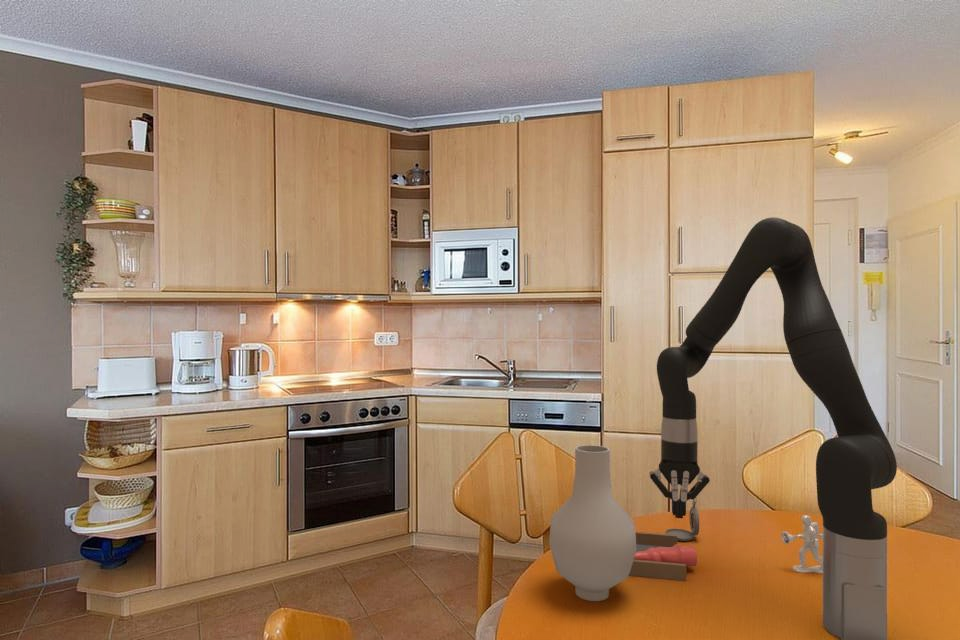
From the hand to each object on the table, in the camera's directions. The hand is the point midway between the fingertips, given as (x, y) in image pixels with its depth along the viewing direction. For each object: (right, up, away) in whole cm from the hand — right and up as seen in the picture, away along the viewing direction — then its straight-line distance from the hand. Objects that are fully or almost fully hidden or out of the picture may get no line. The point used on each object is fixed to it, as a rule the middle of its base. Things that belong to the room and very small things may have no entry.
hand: (678, 517), depth 128 cm
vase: (-22, -10, -15) cm, 28 cm away
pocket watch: (+6, -10, +15) cm, 19 cm away
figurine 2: (+2, -7, -3) cm, 8 cm away
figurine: (+26, -10, -4) cm, 28 cm away
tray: (-8, -10, +2) cm, 13 cm away
